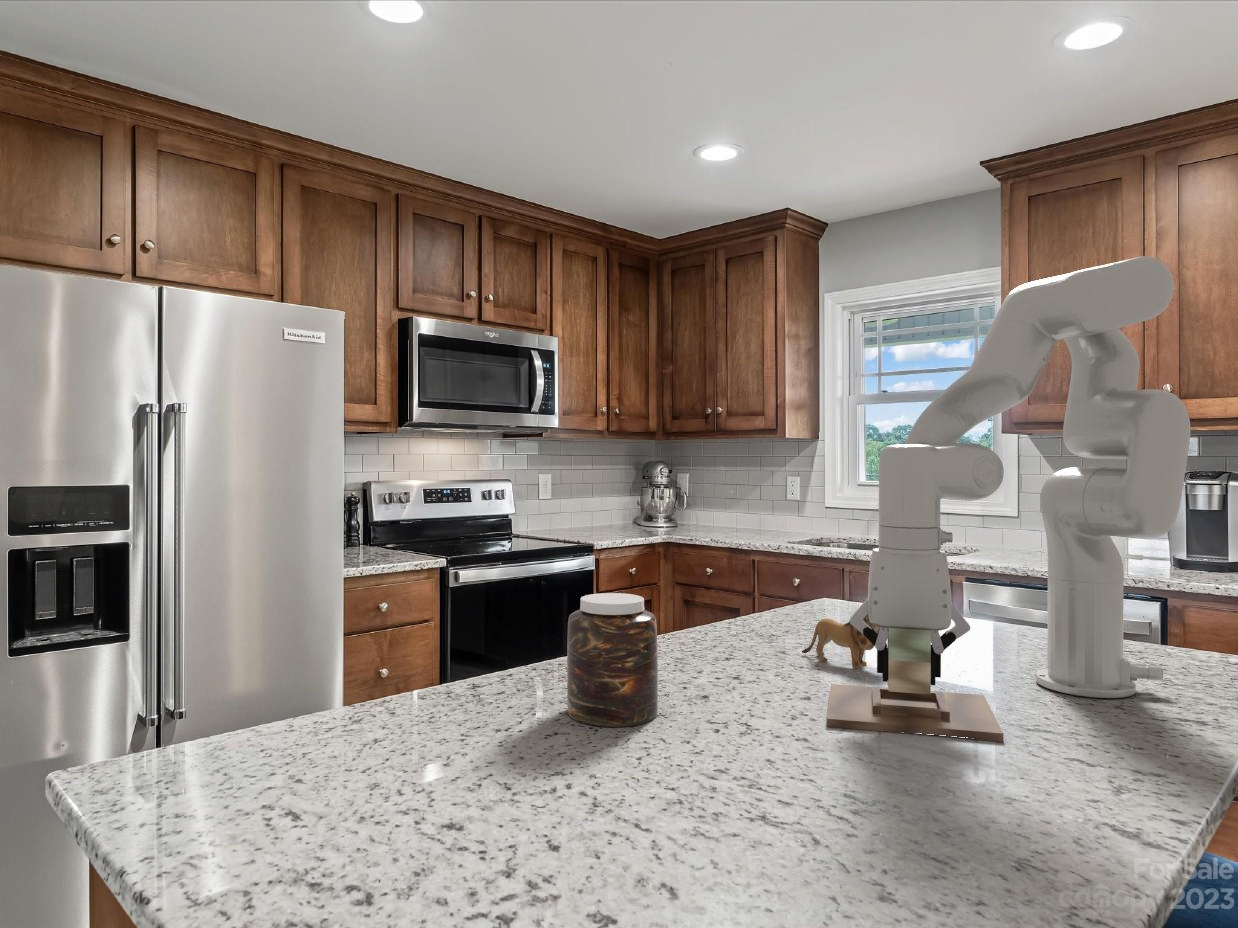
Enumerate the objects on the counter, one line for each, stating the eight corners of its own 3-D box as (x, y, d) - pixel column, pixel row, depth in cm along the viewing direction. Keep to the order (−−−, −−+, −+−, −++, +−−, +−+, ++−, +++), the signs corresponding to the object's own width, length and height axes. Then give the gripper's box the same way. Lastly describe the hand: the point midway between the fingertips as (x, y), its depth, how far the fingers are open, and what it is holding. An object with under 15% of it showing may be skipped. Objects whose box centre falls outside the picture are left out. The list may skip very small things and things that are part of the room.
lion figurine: (893, 667, 130) (893, 610, 130) (879, 674, 126) (879, 615, 126) (809, 652, 140) (809, 599, 140) (793, 658, 136) (793, 604, 136)
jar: (659, 700, 113) (659, 591, 113) (655, 729, 101) (655, 607, 101) (574, 698, 114) (574, 590, 114) (560, 726, 102) (559, 605, 102)
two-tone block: (927, 683, 108) (927, 623, 108) (930, 694, 104) (930, 630, 104) (887, 680, 110) (887, 620, 110) (888, 691, 105) (888, 628, 105)
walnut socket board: (983, 702, 112) (983, 687, 112) (1003, 741, 96) (1003, 724, 96) (831, 690, 117) (831, 676, 117) (826, 726, 102) (826, 710, 102)
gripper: (976, 539, 108) (975, 678, 108) (841, 535, 113) (840, 668, 113) (984, 545, 101) (983, 694, 101) (840, 540, 105) (839, 683, 106)
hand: (908, 679), depth 107 cm, fingers closed on two-tone block, 5 cm apart
